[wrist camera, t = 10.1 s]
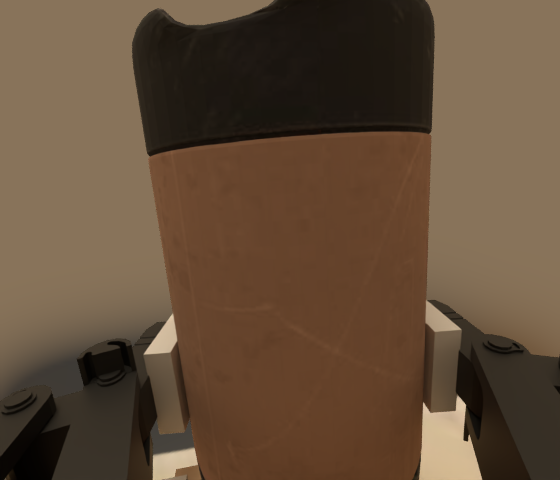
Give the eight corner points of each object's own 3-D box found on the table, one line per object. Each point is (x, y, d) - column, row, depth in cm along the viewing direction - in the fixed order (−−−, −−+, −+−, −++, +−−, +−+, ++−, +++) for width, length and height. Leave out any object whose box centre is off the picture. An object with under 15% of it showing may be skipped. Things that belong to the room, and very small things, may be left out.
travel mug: (328, 458, 18) (311, 99, 13) (457, 619, 11) (514, 14, 6) (202, 543, 14) (118, 87, 9) (284, 859, 7) (141, -135, 3)
